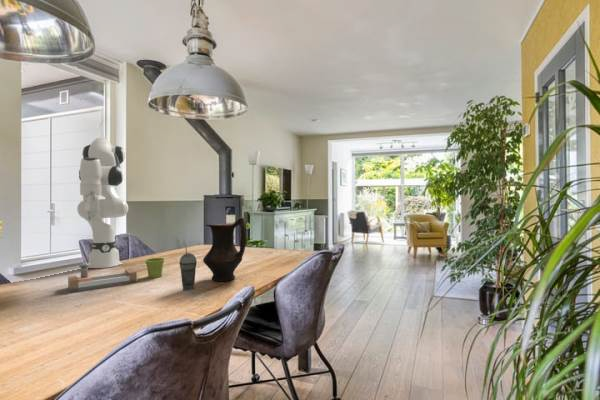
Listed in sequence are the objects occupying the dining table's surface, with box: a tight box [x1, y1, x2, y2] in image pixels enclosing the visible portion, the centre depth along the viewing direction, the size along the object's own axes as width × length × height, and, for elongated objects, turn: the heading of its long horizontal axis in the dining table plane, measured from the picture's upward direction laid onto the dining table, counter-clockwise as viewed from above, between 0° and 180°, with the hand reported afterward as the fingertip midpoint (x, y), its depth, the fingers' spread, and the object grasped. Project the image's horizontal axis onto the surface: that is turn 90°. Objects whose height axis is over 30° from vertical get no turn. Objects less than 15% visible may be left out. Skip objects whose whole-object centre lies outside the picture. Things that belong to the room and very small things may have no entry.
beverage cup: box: [178, 242, 198, 292], centre depth 148 cm, size 7×7×20 cm
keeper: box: [77, 262, 93, 283], centre depth 152 cm, size 7×5×9 cm
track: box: [67, 268, 138, 293], centre depth 157 cm, size 10×26×5 cm, turn 127°
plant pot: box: [144, 257, 166, 279], centre depth 172 cm, size 9×9×9 cm
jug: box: [202, 216, 247, 282], centre depth 165 cm, size 21×18×30 cm
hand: (91, 220), depth 163 cm, fingers open, 8 cm apart
